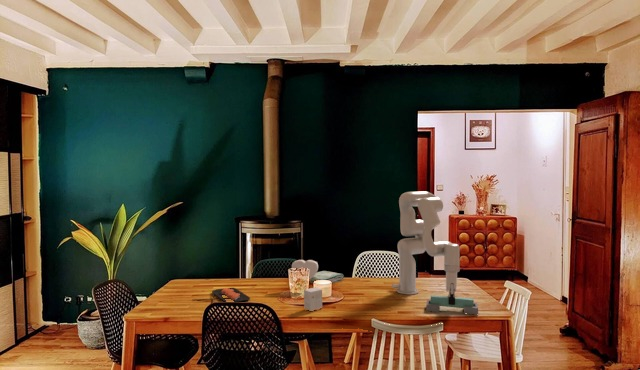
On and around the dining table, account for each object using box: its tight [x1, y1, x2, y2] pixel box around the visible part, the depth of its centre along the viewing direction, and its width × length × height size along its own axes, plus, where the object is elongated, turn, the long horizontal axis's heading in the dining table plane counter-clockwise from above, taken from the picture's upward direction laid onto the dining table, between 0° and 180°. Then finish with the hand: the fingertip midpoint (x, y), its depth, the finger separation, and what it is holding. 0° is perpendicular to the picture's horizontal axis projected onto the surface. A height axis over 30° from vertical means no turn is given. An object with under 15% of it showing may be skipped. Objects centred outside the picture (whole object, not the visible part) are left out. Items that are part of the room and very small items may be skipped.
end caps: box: [425, 299, 479, 315], centre depth 234 cm, size 25×9×4 cm, turn 75°
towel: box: [309, 270, 345, 284], centre depth 298 cm, size 18×21×5 cm
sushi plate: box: [193, 287, 251, 304], centre depth 258 cm, size 29×30×4 cm
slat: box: [430, 294, 475, 309], centre depth 234 cm, size 21×3×4 cm, turn 75°
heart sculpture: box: [291, 259, 319, 279], centre depth 275 cm, size 16×5×18 cm, turn 81°
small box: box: [303, 287, 323, 311], centre depth 237 cm, size 8×6×10 cm
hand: (451, 303), depth 234 cm, fingers closed on slat, 2 cm apart
